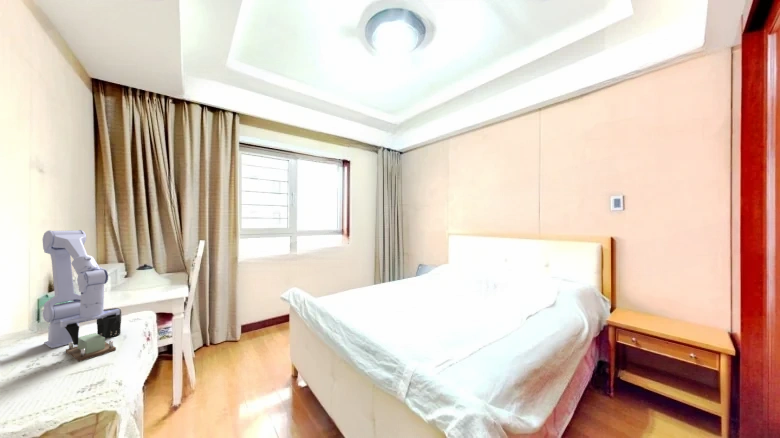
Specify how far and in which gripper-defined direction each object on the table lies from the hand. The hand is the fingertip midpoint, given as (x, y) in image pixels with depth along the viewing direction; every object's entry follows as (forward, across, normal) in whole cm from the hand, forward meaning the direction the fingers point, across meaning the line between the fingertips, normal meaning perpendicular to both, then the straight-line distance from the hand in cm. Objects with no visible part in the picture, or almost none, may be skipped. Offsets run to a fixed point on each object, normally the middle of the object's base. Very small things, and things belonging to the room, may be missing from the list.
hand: (91, 340), depth 97 cm
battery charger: (+4, +8, +11) cm, 14 cm away
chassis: (+4, 0, 0) cm, 4 cm away
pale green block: (+3, 0, 0) cm, 3 cm away
